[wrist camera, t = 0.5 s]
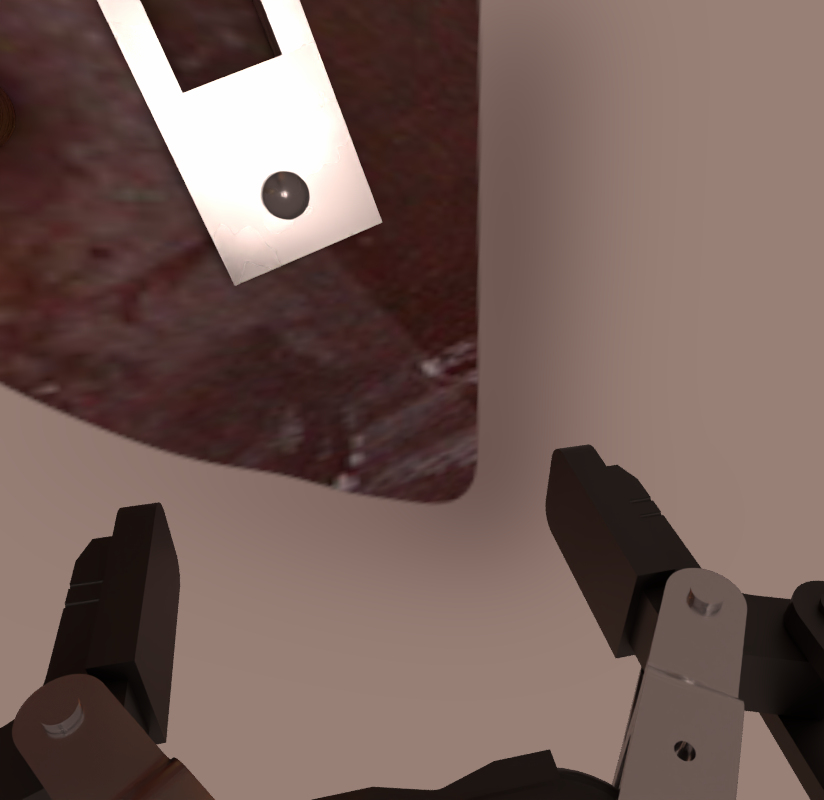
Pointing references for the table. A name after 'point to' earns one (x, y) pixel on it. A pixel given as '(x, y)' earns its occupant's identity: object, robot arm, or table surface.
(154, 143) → the table surface
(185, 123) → the bolted metal plate
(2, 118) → the brass pin
